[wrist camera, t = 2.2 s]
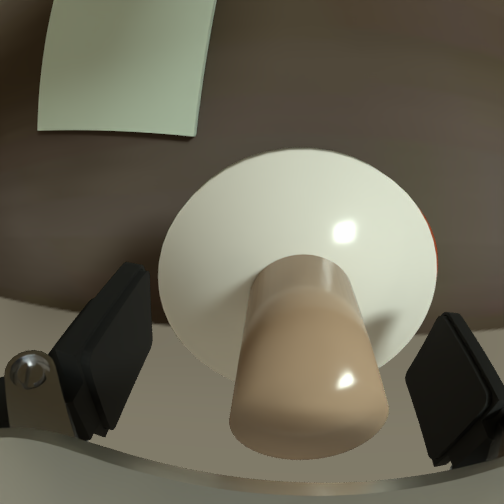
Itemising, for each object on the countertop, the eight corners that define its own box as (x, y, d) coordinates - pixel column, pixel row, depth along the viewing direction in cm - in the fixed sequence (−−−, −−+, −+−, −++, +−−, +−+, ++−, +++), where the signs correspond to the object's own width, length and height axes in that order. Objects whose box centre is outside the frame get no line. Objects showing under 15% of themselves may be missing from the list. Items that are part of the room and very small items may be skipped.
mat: (64, -21, 13) (59, -23, 13) (225, -42, 13) (224, -46, 13) (42, 129, 19) (37, 130, 19) (195, 135, 19) (193, 136, 19)
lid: (172, 128, 9) (55, 166, 4) (459, 184, 9) (574, 263, 4) (168, 357, 14) (128, 467, 8) (374, 383, 14) (397, 490, 8)
